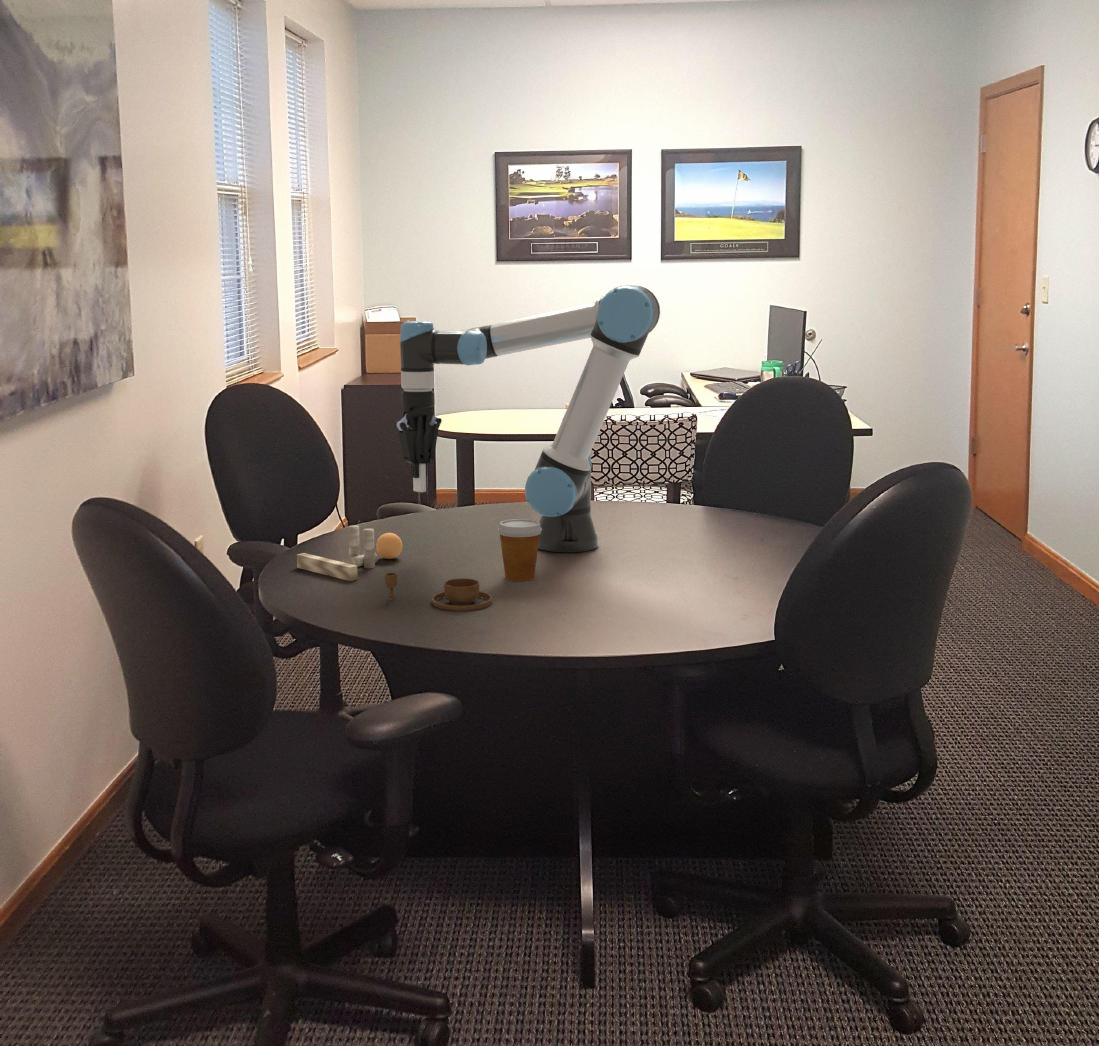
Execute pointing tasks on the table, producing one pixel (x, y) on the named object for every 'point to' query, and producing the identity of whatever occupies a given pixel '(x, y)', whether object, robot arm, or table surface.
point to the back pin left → (368, 548)
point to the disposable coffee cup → (519, 548)
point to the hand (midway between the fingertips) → (419, 491)
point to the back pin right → (353, 541)
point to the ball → (389, 545)
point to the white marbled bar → (327, 566)
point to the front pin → (357, 560)
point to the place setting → (451, 593)
